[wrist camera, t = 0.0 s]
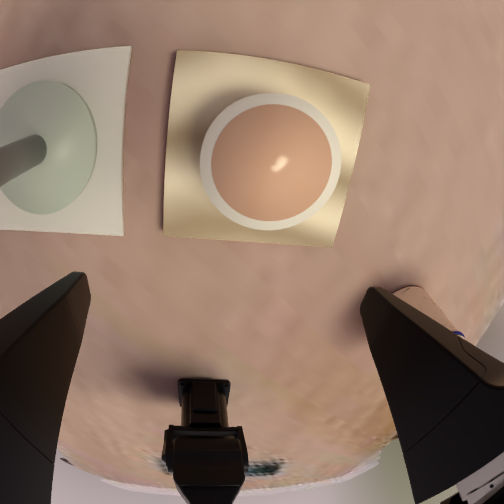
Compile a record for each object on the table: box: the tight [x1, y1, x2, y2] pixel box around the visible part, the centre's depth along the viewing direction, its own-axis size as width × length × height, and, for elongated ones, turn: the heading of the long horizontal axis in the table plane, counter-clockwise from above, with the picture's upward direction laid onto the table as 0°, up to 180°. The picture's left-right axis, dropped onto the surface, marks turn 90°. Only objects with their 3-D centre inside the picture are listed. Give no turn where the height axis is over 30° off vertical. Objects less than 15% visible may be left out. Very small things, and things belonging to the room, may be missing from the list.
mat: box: [0, 46, 132, 236], centre depth 18 cm, size 15×15×1 cm
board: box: [163, 50, 370, 248], centre depth 20 cm, size 14×14×1 cm
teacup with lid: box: [393, 286, 465, 340], centre depth 27 cm, size 12×9×12 cm
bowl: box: [200, 93, 341, 230], centre depth 19 cm, size 9×9×3 cm
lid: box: [0, 81, 97, 215], centre depth 13 cm, size 11×11×10 cm
